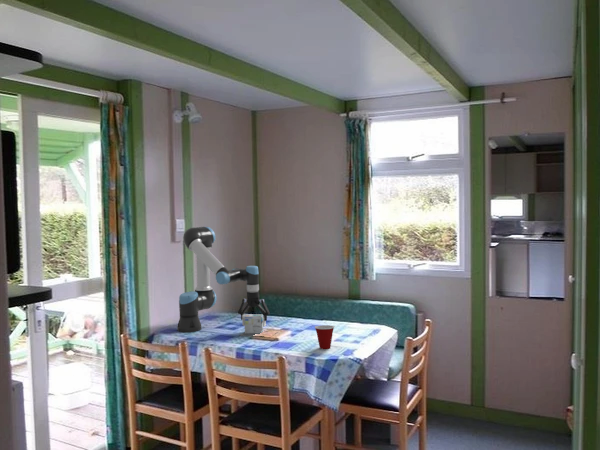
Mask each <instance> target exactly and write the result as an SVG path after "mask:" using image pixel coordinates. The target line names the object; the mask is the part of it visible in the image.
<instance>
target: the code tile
mask: <svg viewBox="0 0 600 450" xmlns="http://www.w3.org/2000/svg"><path fill="white" fill-rule="evenodd" d="M253 335H255V334H245V331H244V332H243V333H241V334H240V335H239V337H240V336H241V337H251V336H253Z"/></svg>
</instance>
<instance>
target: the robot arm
mask: <svg viewBox="0 0 600 450" xmlns="http://www.w3.org/2000/svg"><path fill="white" fill-rule="evenodd" d="M182 239H183V243H184V245H185V247H186V248H187V249H188V250H189V251H190V252H193V253H194V254H195V256H196V257H195V258H196V287H195V288H194V291H193V290H191V291H185V292H182V293H181V294H180V295H179V297H178V306H179V307H178V308H179V319H178V323H177V326H176V328H177V332H180V333H193V332H198V331H201V330H202V323H201V321H200V318H199V312H200V311H203V310H204V311H205V310H208V309H211V308H213V307H214V306H215V305H216V302H217V294H216V292H215V290H214V288H213V287H212V286H211V272H212V273H213V274H214V276H215V280H216V283H218V284H219V285H228V284H231V283H237V282H246V291H247V292H246V298H242V301H241V304H240V306H239V309H238V312H237V314H238V315H240V319H241V320H240V321H241V323H242V326H244V327H245V325H244V316H245V315H246V314H245V313H246V312H247V310H248V309H249V308H250V307H254V308H257V309H258V310H259V311H260V312H261V314H263V328H264V327H266V325H267V322H266V321H268V315H270V314H271V313H270V311H269V307H268V306H267V303H266V301H265V298H261V299H260V283H259V280H260V279H259V278H260V277H259V267H258V266H257V265H247V266H245V268H237V267H236V268H232V269H230V270H229V269H227V268H226V267H225V265H224V264H223V263H222V262H220V260H219V259H218V258H217V257H216V256H215V255H214V254H213V253H212V252H211V251H210V250H212V248H213V244H214V242H215V241H216V233H215V231H214V230H213V229H212V227H209V226H199V227H189V228H187V229H186V230H185V232H184V233H183V236H182ZM246 303H247V304H246ZM245 305H246V306H245Z"/></svg>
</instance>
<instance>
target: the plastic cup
mask: <svg viewBox="0 0 600 450" xmlns="http://www.w3.org/2000/svg"><path fill="white" fill-rule="evenodd" d="M314 329H315V331H316V336H317V342H318V346H319V349H320V350H330V349H331V346H332V340H333V332H334V329H335V326H334V325H331V324H330V325H328V324H326V325H323V324H322V325H316V326H314Z"/></svg>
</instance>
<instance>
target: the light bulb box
mask: <svg viewBox="0 0 600 450" xmlns="http://www.w3.org/2000/svg"><path fill="white" fill-rule="evenodd" d="M263 316H264V315H263V313H261V314H259V313H258V314H257V313H256V314H254V313H253V314H252V313H250V314H248V313H247V314H245V316H244V332H245V334H260V333H262V332H263V331H264V327H263Z"/></svg>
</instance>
